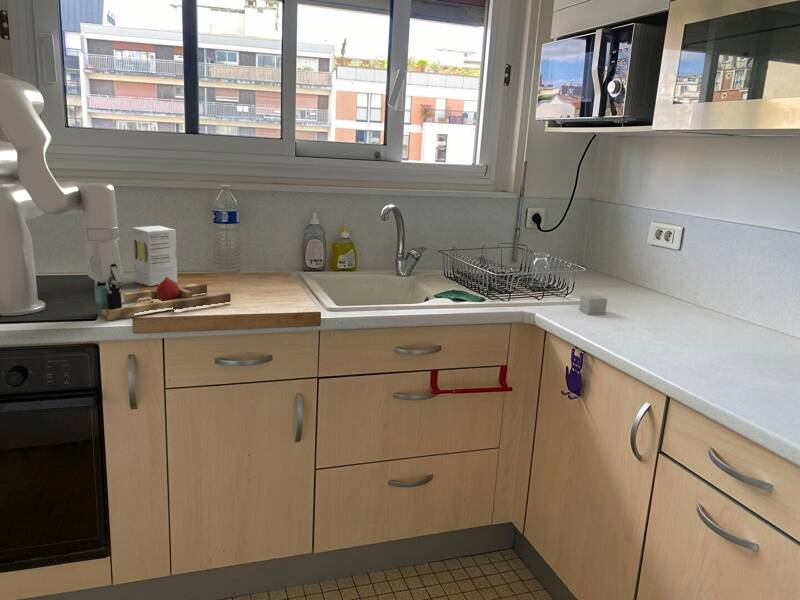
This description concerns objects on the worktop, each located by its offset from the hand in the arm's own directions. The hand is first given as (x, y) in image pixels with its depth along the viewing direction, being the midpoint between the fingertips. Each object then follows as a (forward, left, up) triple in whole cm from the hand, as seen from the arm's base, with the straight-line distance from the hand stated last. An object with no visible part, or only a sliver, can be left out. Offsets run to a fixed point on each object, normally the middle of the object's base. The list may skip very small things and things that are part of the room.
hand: (109, 305), depth 163 cm
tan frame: (+9, 0, -2) cm, 9 cm away
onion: (+16, +1, -3) cm, 16 cm away
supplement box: (+25, +28, -3) cm, 38 cm away
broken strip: (+18, +10, -3) cm, 21 cm away
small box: (+109, -73, -3) cm, 131 cm away
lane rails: (+22, 0, -3) cm, 22 cm away
